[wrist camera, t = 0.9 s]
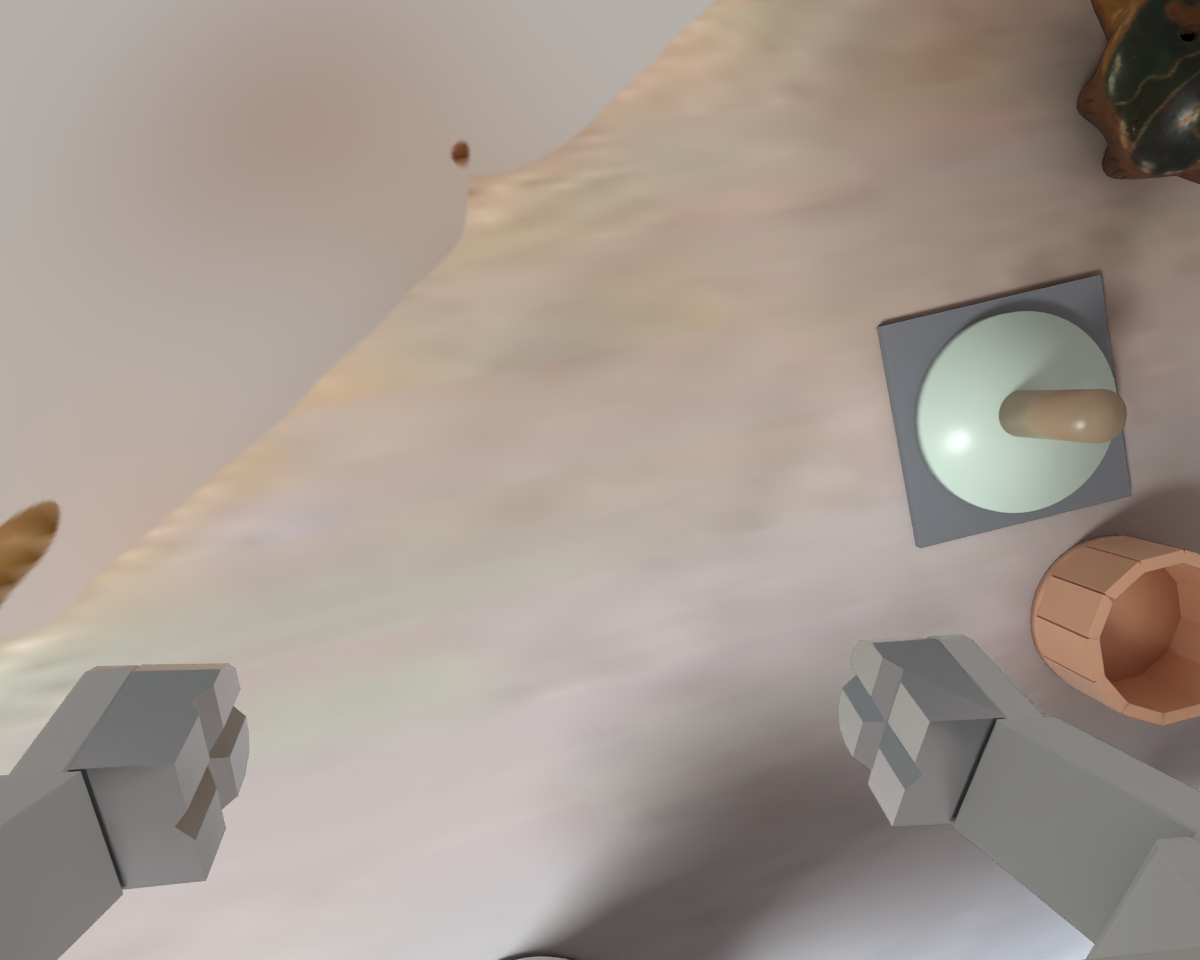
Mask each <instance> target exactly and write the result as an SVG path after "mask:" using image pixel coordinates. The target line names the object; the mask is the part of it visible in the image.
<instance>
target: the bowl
mask: <svg viewBox="0 0 1200 960" xmlns="http://www.w3.org/2000/svg"><path fill="white" fill-rule="evenodd" d="M1031 632H1032V636H1033V641H1034V643H1035V646H1036V649H1037V651H1038V653H1039V655H1040V656H1041V658H1042V660H1043V661H1044V662H1045V664H1046V665H1047V666H1048V667H1049V668H1050V669H1051V670H1052V671H1053V672H1054V673H1055V674H1057V675H1058V676H1059V677H1061V678H1062V679H1063V680H1064V681H1065V682H1066V683H1067V684H1068V685H1070V686H1071V687H1073V688H1075V689H1077V690H1079V691H1080V692H1082V693H1084V694H1086V695H1088V696H1089V697H1091V698H1093V699H1095V700H1097V701H1098V702H1100V703H1102V704H1104V705H1106V706H1107V707H1109V708H1111V709H1113V710H1114V711H1116V712H1118V713H1120V714H1122V715H1125V716H1128V717H1132V718H1135V719H1139V720H1143V721H1146V722H1150V723H1153V724H1157V725H1160V726H1161V725H1163V726H1164V725H1168V724H1172V723H1176V722H1179V721H1183V720H1187V719H1191V718H1195V717H1198V716H1200V554H1197V553H1194V552H1191V551H1187V550H1184V549H1180V548H1176V547H1171V546H1167V545H1163V544H1159V543H1155V542H1151V541H1147V540H1143V539H1138V538H1134V537H1130V536H1126V535H1125V536H1124V535H1122V536H1102V537H1097V538H1093V539H1090V540H1087V541H1084V542H1082V543H1080V544H1078V545H1076V546H1074V547H1072V548H1071V549H1069V550H1068V551H1066V552H1065V553H1064V554H1063V555H1061V556H1060V557H1059V558H1058V559H1057V560H1056V561H1055V562H1054V563H1053V564H1052V565H1051V566H1050V568H1049V569H1048V570H1047V572H1046V573H1045V574H1044V576H1043V578H1042V579H1041V581H1040V583H1039V585H1038V588H1037V590H1036V592H1035V596H1034V599H1033V603H1032V609H1031Z"/></svg>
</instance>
